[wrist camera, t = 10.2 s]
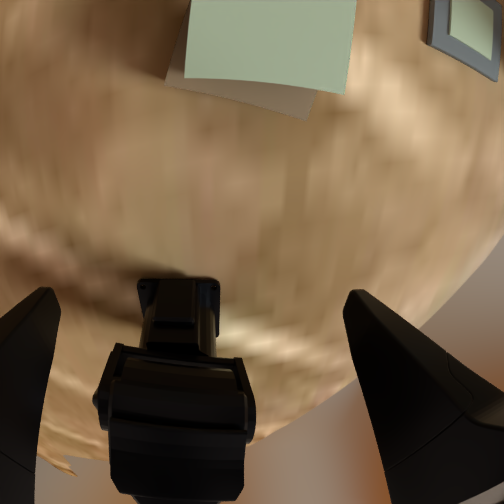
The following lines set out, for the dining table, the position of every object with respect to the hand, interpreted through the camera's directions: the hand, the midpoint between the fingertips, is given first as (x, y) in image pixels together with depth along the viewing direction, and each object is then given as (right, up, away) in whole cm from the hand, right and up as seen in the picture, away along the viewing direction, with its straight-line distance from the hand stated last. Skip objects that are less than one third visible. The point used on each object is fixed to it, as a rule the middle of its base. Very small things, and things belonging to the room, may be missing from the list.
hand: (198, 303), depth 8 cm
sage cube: (+2, +11, +2) cm, 12 cm away
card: (+18, +19, +4) cm, 26 cm away
